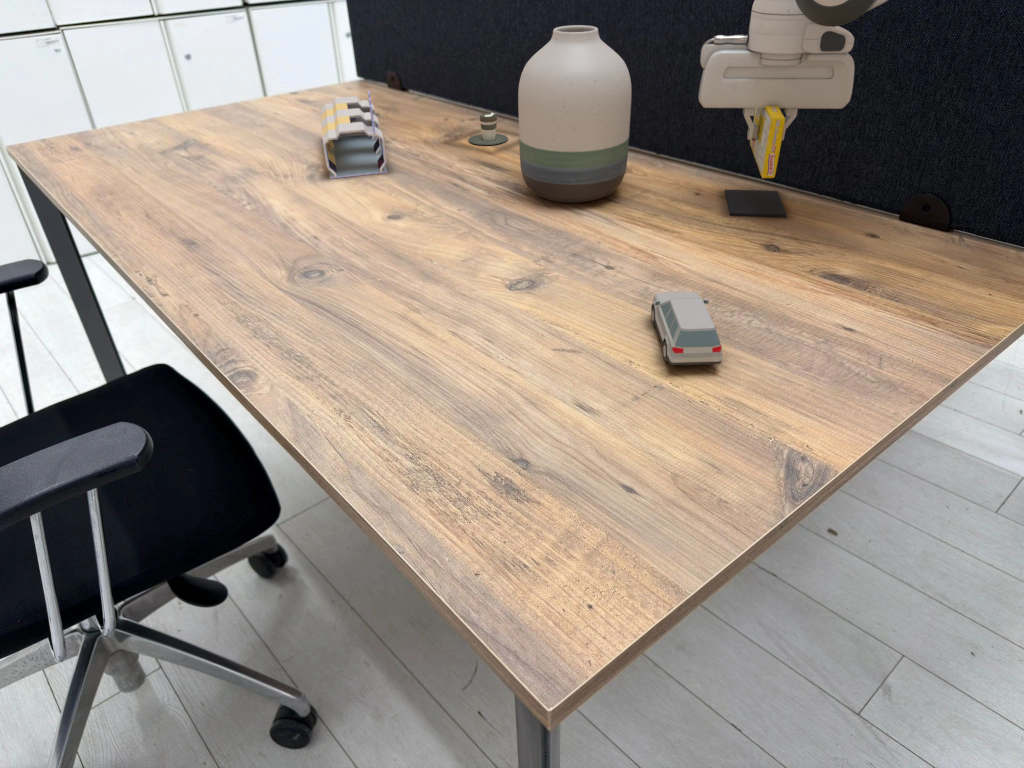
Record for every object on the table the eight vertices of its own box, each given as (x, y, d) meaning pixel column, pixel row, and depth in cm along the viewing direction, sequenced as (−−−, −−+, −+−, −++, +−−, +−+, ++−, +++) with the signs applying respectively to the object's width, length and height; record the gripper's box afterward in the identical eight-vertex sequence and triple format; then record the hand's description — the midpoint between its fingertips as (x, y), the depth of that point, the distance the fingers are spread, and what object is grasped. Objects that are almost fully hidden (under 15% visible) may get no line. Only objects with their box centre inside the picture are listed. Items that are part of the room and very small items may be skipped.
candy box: (777, 179, 99) (786, 117, 95) (761, 179, 100) (769, 117, 95) (763, 144, 112) (770, 88, 108) (749, 144, 113) (755, 89, 108)
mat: (777, 193, 113) (777, 190, 113) (786, 217, 105) (786, 214, 105) (724, 191, 115) (725, 189, 114) (729, 215, 106) (730, 212, 106)
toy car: (696, 312, 83) (701, 272, 80) (723, 374, 72) (730, 331, 70) (646, 313, 83) (649, 274, 80) (666, 376, 72) (670, 333, 70)
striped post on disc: (446, 142, 142) (444, 116, 139) (487, 128, 149) (486, 103, 146) (492, 153, 135) (491, 125, 132) (532, 137, 142) (532, 111, 140)
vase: (646, 189, 117) (659, 25, 103) (580, 220, 107) (584, 43, 93) (566, 168, 126) (568, 16, 113) (498, 195, 116) (491, 31, 103)
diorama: (388, 172, 128) (378, 95, 120) (329, 178, 126) (315, 100, 118) (377, 134, 148) (368, 66, 140) (326, 139, 146) (314, 70, 138)
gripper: (704, 39, 95) (692, 144, 103) (867, 38, 92) (843, 146, 100) (701, 31, 101) (690, 132, 108) (856, 29, 97) (834, 133, 105)
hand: (765, 139), depth 104 cm, fingers closed on candy box, 2 cm apart
